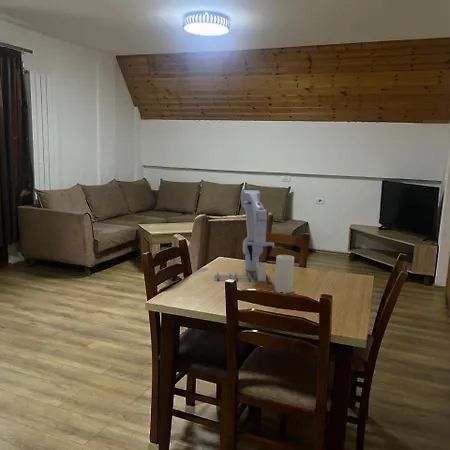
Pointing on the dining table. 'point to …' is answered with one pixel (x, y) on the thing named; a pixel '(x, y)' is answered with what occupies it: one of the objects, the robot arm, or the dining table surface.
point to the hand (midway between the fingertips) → (258, 260)
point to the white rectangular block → (261, 272)
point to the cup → (284, 273)
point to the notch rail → (241, 278)
